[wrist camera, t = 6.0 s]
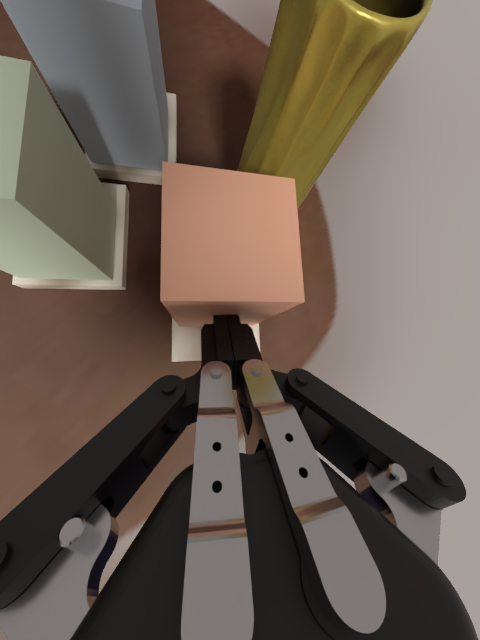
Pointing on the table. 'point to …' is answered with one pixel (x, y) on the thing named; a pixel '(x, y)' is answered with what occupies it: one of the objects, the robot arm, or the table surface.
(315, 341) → the table surface
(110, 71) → the slate block
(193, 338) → the block bases
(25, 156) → the sage block
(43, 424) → the table surface
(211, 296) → the terracotta block
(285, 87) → the vase
